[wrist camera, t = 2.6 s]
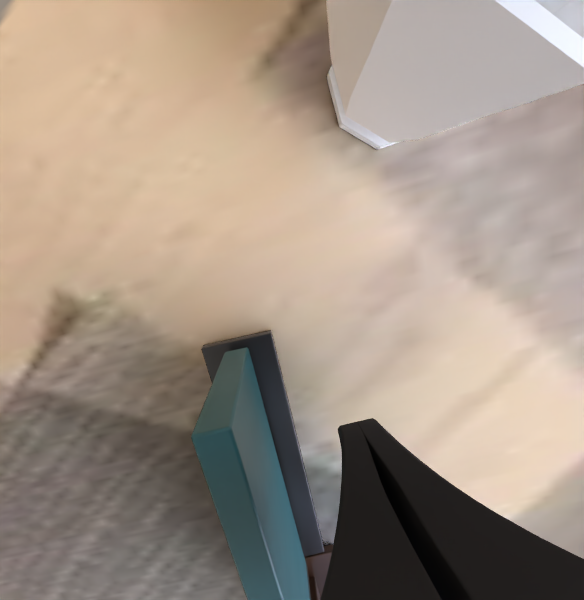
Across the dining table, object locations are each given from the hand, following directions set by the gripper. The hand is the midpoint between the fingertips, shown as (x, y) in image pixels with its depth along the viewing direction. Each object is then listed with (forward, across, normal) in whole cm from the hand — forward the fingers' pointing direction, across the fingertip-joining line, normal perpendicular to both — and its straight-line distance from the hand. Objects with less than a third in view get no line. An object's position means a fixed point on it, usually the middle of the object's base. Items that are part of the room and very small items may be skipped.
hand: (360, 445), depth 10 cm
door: (+2, +4, +2) cm, 5 cm away
